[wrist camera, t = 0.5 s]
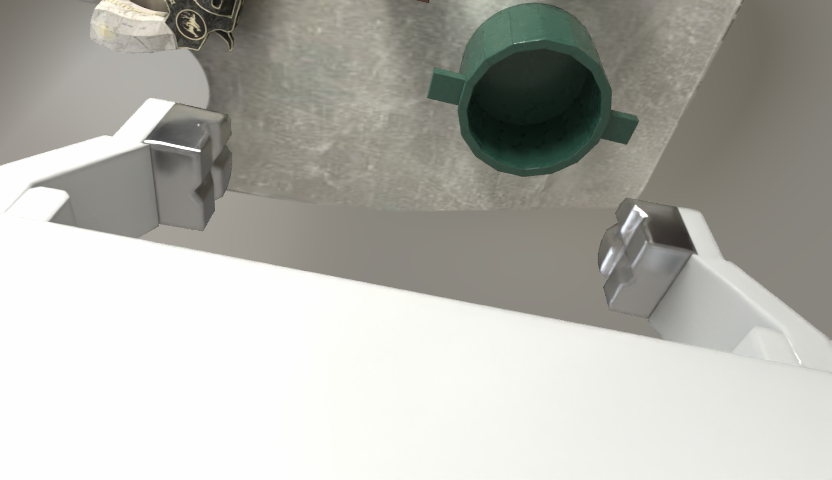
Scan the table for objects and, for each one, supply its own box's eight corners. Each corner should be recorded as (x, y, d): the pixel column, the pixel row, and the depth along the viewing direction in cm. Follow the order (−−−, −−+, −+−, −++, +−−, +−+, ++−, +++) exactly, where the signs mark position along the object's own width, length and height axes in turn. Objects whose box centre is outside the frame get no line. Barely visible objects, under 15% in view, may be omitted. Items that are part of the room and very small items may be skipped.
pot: (451, -20, 51) (448, 14, 45) (646, 29, 53) (670, 69, 46) (420, 107, 59) (414, 152, 53) (590, 146, 61) (604, 195, 54)
